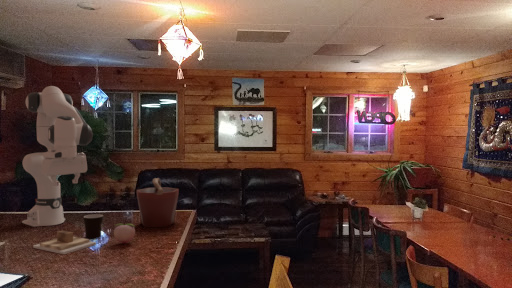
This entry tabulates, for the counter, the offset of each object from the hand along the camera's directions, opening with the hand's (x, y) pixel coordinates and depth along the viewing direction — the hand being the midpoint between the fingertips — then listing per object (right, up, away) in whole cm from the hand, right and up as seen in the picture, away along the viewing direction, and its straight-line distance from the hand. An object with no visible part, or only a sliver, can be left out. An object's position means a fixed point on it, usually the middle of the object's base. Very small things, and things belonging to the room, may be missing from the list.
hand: (65, 184), depth 171 cm
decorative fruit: (+25, -27, +4) cm, 37 cm away
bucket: (+29, -26, +43) cm, 58 cm away
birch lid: (0, -26, 0) cm, 26 cm away
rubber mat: (0, -27, 0) cm, 27 cm away
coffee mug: (+6, -27, +17) cm, 32 cm away
